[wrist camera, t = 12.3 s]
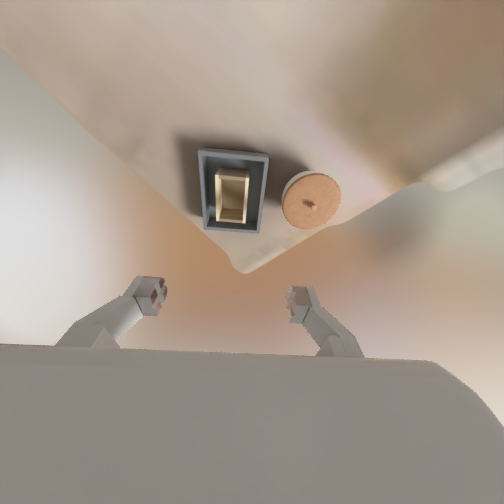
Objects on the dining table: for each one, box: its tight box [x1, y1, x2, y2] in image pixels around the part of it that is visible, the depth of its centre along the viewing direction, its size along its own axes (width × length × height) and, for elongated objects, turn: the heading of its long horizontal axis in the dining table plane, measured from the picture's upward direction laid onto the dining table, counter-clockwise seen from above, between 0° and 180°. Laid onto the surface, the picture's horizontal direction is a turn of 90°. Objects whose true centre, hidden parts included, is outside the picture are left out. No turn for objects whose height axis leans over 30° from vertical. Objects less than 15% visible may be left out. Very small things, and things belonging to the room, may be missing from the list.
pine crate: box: [215, 167, 249, 223], centre depth 37 cm, size 9×6×6 cm, turn 174°
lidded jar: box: [282, 171, 341, 229], centre depth 36 cm, size 11×11×9 cm
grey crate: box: [198, 147, 269, 233], centre depth 38 cm, size 15×12×5 cm
